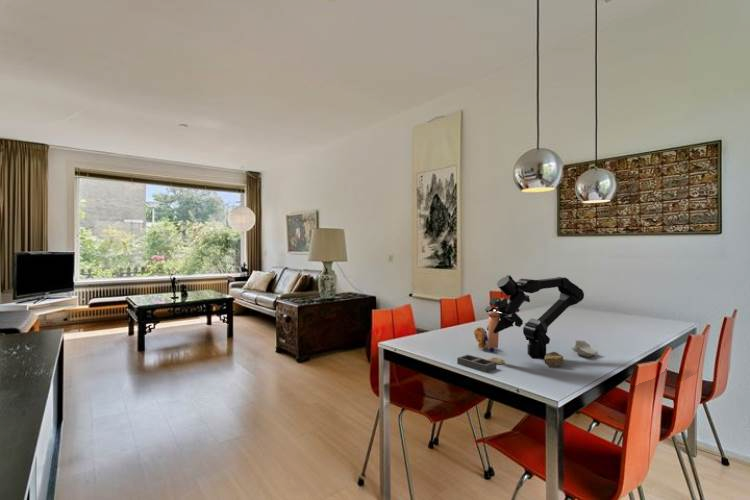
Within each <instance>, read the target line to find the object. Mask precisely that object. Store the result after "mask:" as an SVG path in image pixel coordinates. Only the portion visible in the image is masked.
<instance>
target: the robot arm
mask: <svg viewBox="0 0 750 500" xmlns="http://www.w3.org/2000/svg"><path fill="white" fill-rule="evenodd" d="M496 287H497V288H499V290H500V291H501V292H502V293H503V294H504V295H505V296H508V297H507V298H505V297H501V298H498V297H494V296H491V298H490V301H489V305H488V306H486V308H485V309H484V311H485V312H486V313H487V314H488V312H489V311H494V312H500V316H499V323H498V324H497V326H496V327H495V329H494V331H493V332H494V333H497V332H501V331H503V330H506V329H508V328H511V327H514V326H516V327H518V328H521V326H523V325H524V326H523V328H522V331H523V332H522V333H523V336H524V337H525V340H526V341H528V344H527V355H529V357H531V358H532V359H544V357H545V355H546V354H547V345H549V344H550V341H551V338H550V337H549V336H548V335H547V334H548V328H549V326H551V324H553V322H555V321H556V320H557V319H558V318H559V317H560V316H561V315H562V314H563V313H564V312H565V311H566V310H567V309H568V308H569V307H571V306H575V305H577V304H579V303H581V302H582V301H583V300H584V299H585V293H584V290H583V289H582V288H580V287H579V286H578V285H577V284H574V283H573V282H572V281H570V279H569V278H567V277H565V276H564V277H561V276H557V277H552V278H551V277H550V278H542V279H529V278H528V279H527V278H520V279H518V281H515V280H514V279H513V277H512V276H511V275H509V274H507V275H505V276H503V277H502V278H501V279H499V280H498V281H497V283H496ZM552 288H553V289H554V288H557V289H558V292H559V298H558V299H557V300H556V302H554V303H553V304H552V305H551V306H550V307H549V308H548V309H547V310H546V311H545V312H544V313H542V315H541V316H539V317H538V318H537V319H535V318H532V317H531V318H530V319H528V321H527V322H526V323H524V320H523V319H522V318H521V317H520V316H519V315H518V314H517V313H519V312H520V311H521V310H520V307H521V306H522V304H524V302H525V303H526V302H527V303H531V299H530V295H528V294H535V293H537V292H539V291H541V290H543V289H546V290H547V289H552ZM525 293H527V295H526V294H525ZM491 305H492V306H491ZM523 323H524V324H523ZM488 326H489V324H488V325H487V327H486V330H487V331H488Z"/></svg>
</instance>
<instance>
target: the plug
mask: <svg viewBox="0 0 750 500" xmlns="http://www.w3.org/2000/svg"><path fill="white" fill-rule="evenodd" d="M487 316H488V325H489V326H488V325H487V327H488V330H487V331H488V333H487V336H488V347H490V348H494V349H498V348H499V335H500V334H499V332H500V331H499V332H497V333H494V332H493V331H494V329H495V327H496V326H497V324H498V323H499V320H500V319H499V316H500V312H499V311H498V312H494V311H489V312H488V313H487ZM488 347H487V348H488Z"/></svg>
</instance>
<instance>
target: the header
mask: <svg viewBox="0 0 750 500" xmlns="http://www.w3.org/2000/svg"><path fill="white" fill-rule="evenodd" d="M456 359H457V362H456V363H457V365H460V366H462V367H466V368H470V369H474V370H476V371H480V372H482V373H483V372H484V373H488V372H491V371H494V370H496V369H497V365H496V362H494V361H490V360H487V359H485V358H482V357H479V356H475V355H471V354H464V355H462V356H459V357H457V358H456Z"/></svg>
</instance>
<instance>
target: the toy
mask: <svg viewBox="0 0 750 500" xmlns="http://www.w3.org/2000/svg"><path fill="white" fill-rule="evenodd" d="M473 334H474V338H475V339H476V342H478V345H477V346H478V349H483V350H485V349H486V347H487V349H488V350H489V352H490V353H491V352H494V351H495V350H496V348H490V347H488V333H487V331H486V329H485V328H484V327H481V326H479V327H476V328H475V329H474V331H473Z"/></svg>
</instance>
